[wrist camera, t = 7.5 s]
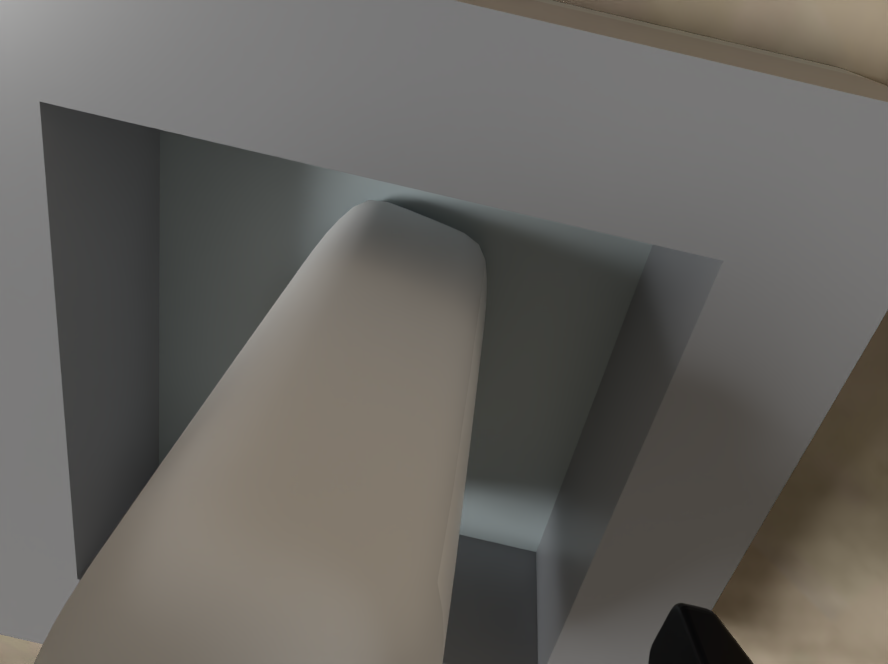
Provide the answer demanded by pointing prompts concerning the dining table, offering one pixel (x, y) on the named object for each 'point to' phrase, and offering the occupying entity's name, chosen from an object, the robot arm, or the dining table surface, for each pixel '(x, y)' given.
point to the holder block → (507, 266)
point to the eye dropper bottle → (310, 474)
